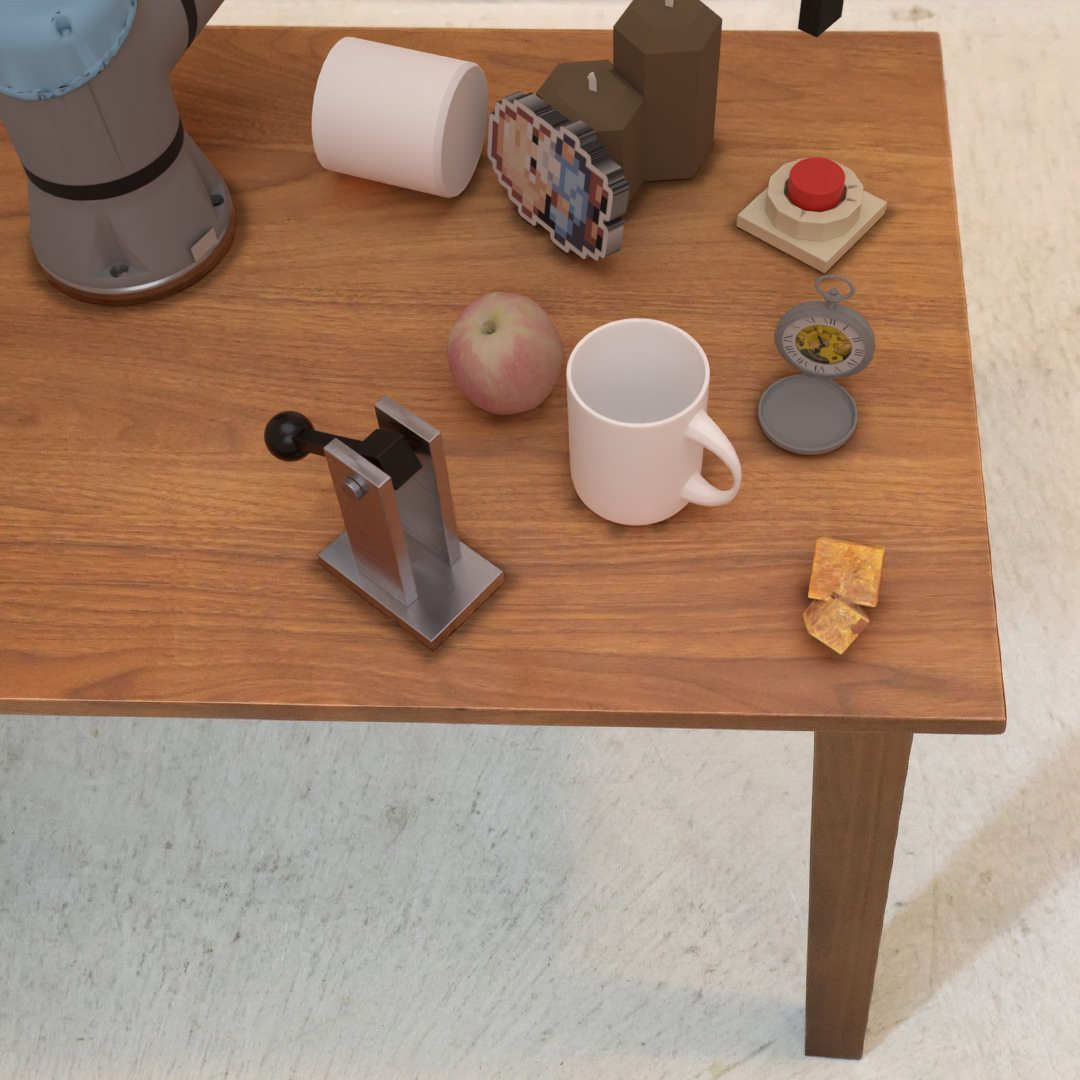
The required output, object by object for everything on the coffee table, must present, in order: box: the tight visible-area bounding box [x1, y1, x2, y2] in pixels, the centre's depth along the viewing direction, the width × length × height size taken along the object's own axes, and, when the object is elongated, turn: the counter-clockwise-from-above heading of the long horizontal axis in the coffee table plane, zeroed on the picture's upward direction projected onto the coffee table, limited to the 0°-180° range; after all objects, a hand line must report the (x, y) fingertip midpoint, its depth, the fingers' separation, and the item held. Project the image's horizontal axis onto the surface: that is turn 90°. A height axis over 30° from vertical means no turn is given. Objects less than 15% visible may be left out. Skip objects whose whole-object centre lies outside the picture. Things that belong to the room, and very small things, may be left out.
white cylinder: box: [311, 36, 490, 199], centre depth 107 cm, size 13×10×10 cm
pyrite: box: [802, 535, 888, 655], centre depth 84 cm, size 5×7×4 cm
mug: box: [565, 317, 743, 526], centre depth 87 cm, size 9×12×11 cm
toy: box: [487, 90, 629, 262], centre depth 102 cm, size 14×2×10 cm, turn 39°
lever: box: [263, 410, 423, 490], centre depth 83 cm, size 14×3×3 cm, turn 49°
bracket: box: [317, 394, 505, 652], centre depth 83 cm, size 10×7×14 cm, turn 49°
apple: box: [446, 291, 565, 416], centre depth 94 cm, size 8×8×8 cm
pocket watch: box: [757, 274, 877, 456], centre depth 91 cm, size 8×8×10 cm
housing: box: [735, 157, 888, 274], centre depth 104 cm, size 8×8×3 cm
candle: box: [535, 0, 723, 207], centre depth 104 cm, size 14×14×15 cm
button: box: [788, 156, 845, 212], centre depth 102 cm, size 4×4×2 cm
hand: (819, 22), depth 89 cm, fingers closed
